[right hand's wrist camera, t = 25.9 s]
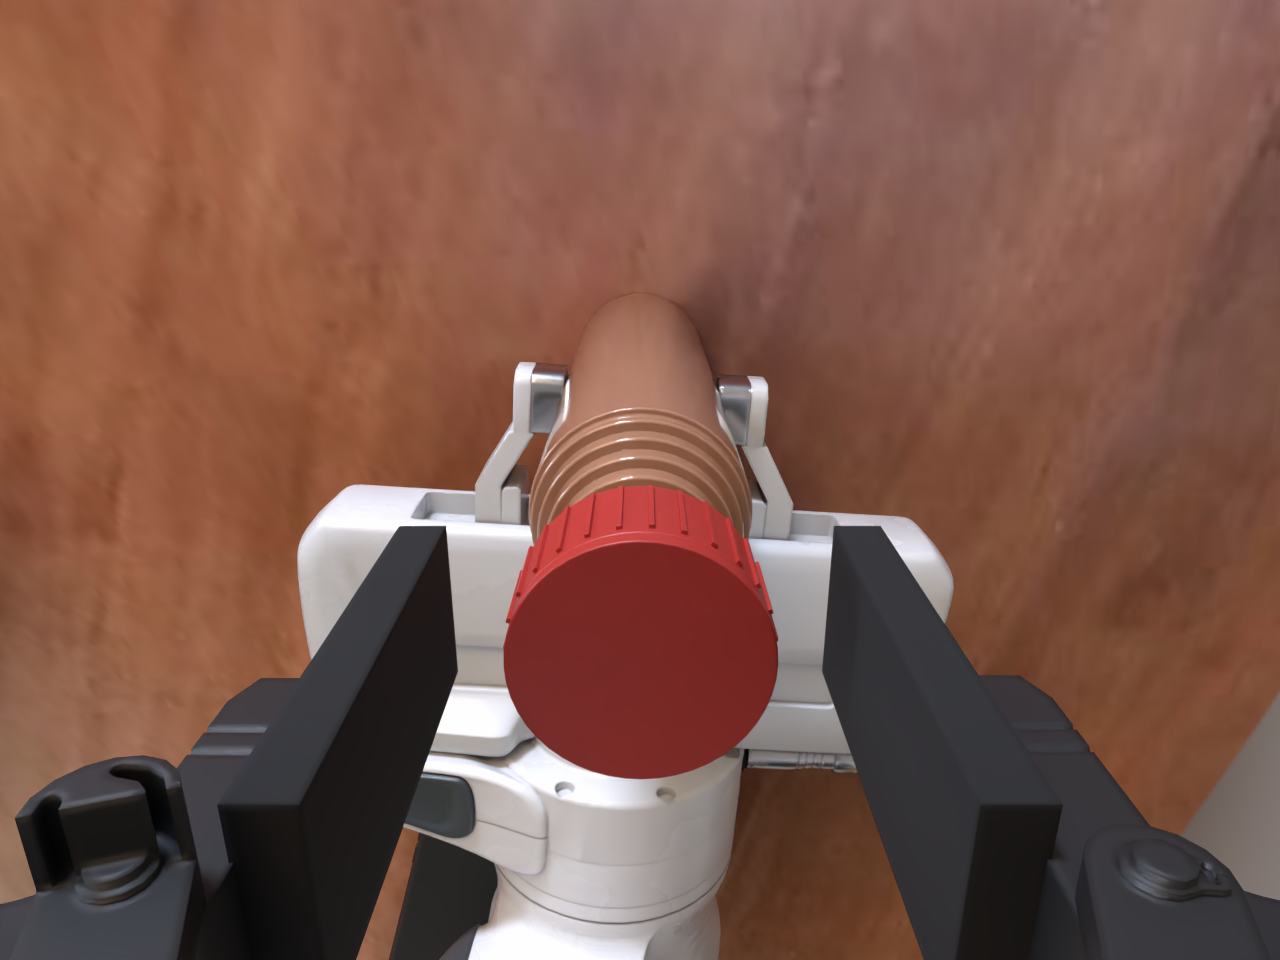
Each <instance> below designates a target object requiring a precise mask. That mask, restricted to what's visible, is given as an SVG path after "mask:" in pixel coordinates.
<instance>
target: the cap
mask: <svg viewBox="0 0 1280 960" xmlns="http://www.w3.org/2000/svg"><path fill="white" fill-rule="evenodd" d="M773 613H774V612H773V609H772V605H771V602H770V599H769V595H768V592H767V588H766V585H765V582H764V578H763V575H762V571H761V568H760V565H759V562H755V561H754V558H753V554H752V551H751V547H750V544H749V541H748V539H747V538H745V539H743V537H742V536H741V535H740V533H739V532H738V530H737V529H736V528H735V527H734V526H733V524H732V520H731V519H730V518H729V517H728V518H725V517H724V516H723V515H722V514H720V513H719V512H718V511H717V510H716V509H714V508H713V507H711V506H710V505H709V502H707V501H704V502H703V501H701V500H699V499H697V498H695V497H692V496H690V495H688V494H685V493H683V491H682V490H677V491H675V490H672V489H667V488H661V487H654V486H653V485H648V486H629V487H624V486H618V488H615V489H610V490H606V491H603V492H600V493H597V494H595V493H591V494H590V496H589V497H587V498H585V499H583V500H581V501H579V502H577V503H575V504H574V505H572V506H571V507H569V506H566V507H565V508H564V511H563V512H562V513H561V514H560V515H559V516H557V517H556V518H555V519H554V520H553V521H552V522H551V523H550V524H549V525H548V524H546V525H545V526H544V527H543V531H542V534H541V535H540V537H539V538H538V540H537V541H536V543H535V544H534V546H530V547H529V549H528V552H527V555H526V559H525V562H524V566H523V569H522V570H520V573H519V577H518V580H517V584H516V587H515V591H514V594H513V597H512V601H511V604H510V608H509V611H508V615H507V618H506V623H508V624H509V627H508V630H507V634H506V638H505V642H504V645H503V651H504V666H503V667H504V674H505V680H506V685H507V688H508V691H509V694H510V698H511V700H512V702H513V704H514V706H515V708H516V710H517V712H518V714H519V715H520V717H521V718H522V720H523V722H524V723H525V725H526V726H527V727H528V728H529V729H530V731H531V732H532V733H533V734H534V735H535V736H536V738H538V739H539V740H540V741H541V742H542V743H543V744H544V745H545V746H546V747H548V748H549V749H550V750H552V751H553V752H554V753H556V754H557V755H559V756H560V757H562V758H563V759H565V760H567V761H569V762H571V763H573V764H575V765H577V766H579V767H582V768H584V769H587V770H589V771H592V772H595V773H599V774H603V775H607V776H612V777H618V778H624V779H656V778H664V777H670V776H675V775H679V774H683V773H686V772H689V771H693V770H695V769H697V768H700V767H702V766H705V765H707V764H709V763H711V762H713V761H714V760H716V759H718V758H720V757H722V756H723V755H724V754H726V753H727V752H729V751H730V750H731V749H733V748H734V747H735V746H736V745H738V744H739V743H740V742H741V741H742V740H743V739H744V738H745V737H746V736H747V735H748V734H749V733H750V731H751V730H752V729H753V728H754V727H755V725H756V724H757V723H758V721H759V720H760V718H761V716H762V715H763V713H764V711H765V710H766V708H767V705H768V703H769V701H770V699H771V696H772V694H773V690H774V687H775V683H776V679H777V671H778V646H777V641H778V635H777V631H776V628H775V624H774V621H773V617H772V614H773Z"/></svg>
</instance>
